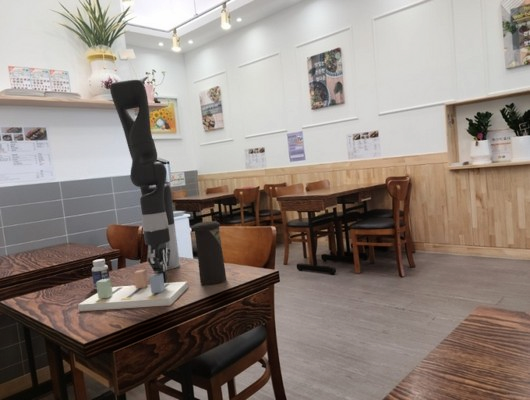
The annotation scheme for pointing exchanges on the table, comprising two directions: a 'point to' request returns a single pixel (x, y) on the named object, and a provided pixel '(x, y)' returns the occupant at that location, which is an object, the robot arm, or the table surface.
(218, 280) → the container
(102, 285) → the sage lever
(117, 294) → the panel
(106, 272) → the pill bottle
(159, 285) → the slate lever
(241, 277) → the table surface
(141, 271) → the terracotta lever
